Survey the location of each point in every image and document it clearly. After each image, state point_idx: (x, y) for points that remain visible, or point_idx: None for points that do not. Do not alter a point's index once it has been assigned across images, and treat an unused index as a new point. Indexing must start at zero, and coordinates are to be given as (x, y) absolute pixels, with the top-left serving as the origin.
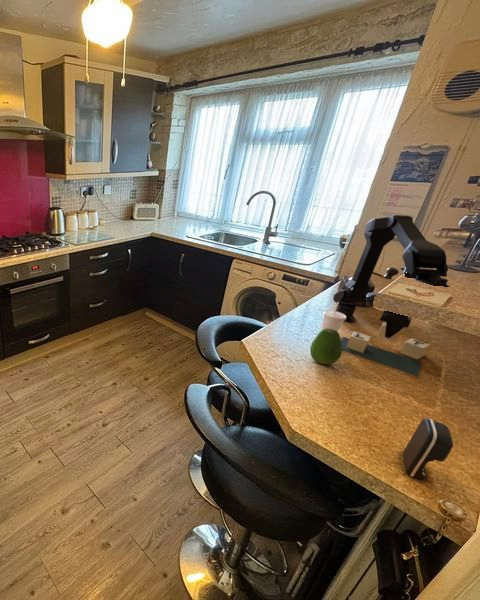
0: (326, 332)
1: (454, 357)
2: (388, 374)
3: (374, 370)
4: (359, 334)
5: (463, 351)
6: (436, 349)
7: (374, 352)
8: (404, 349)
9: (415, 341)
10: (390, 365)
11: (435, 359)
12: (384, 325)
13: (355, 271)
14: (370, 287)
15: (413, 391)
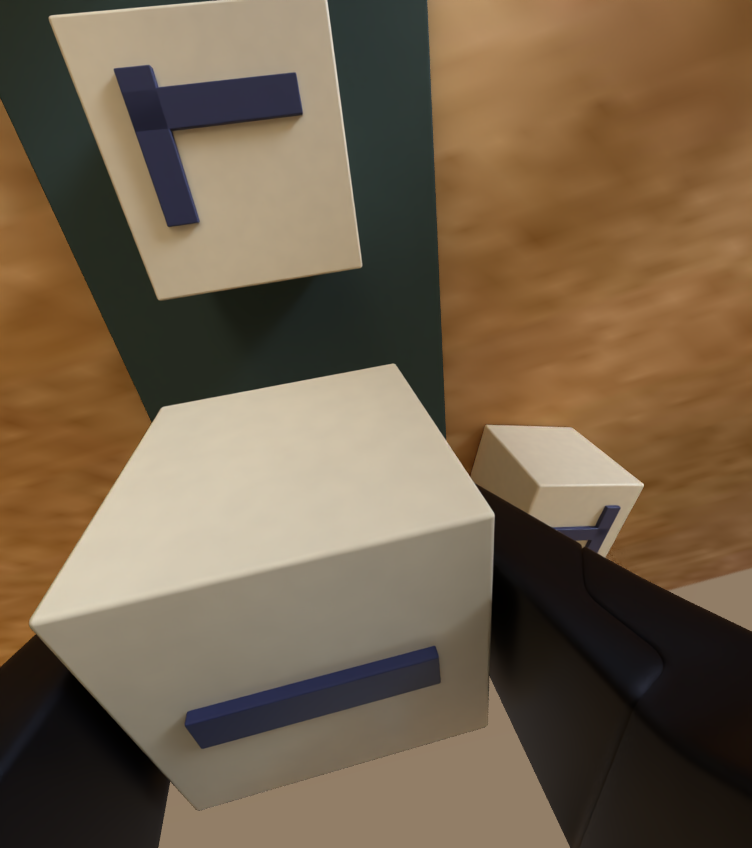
0: None
1: (632, 561)
2: (67, 498)
3: (4, 433)
4: (285, 121)
5: (725, 555)
6: (682, 502)
7: (316, 330)
8: (498, 461)
9: (596, 517)
10: None
11: None
12: (66, 654)
13: None
14: None
15: (23, 620)
